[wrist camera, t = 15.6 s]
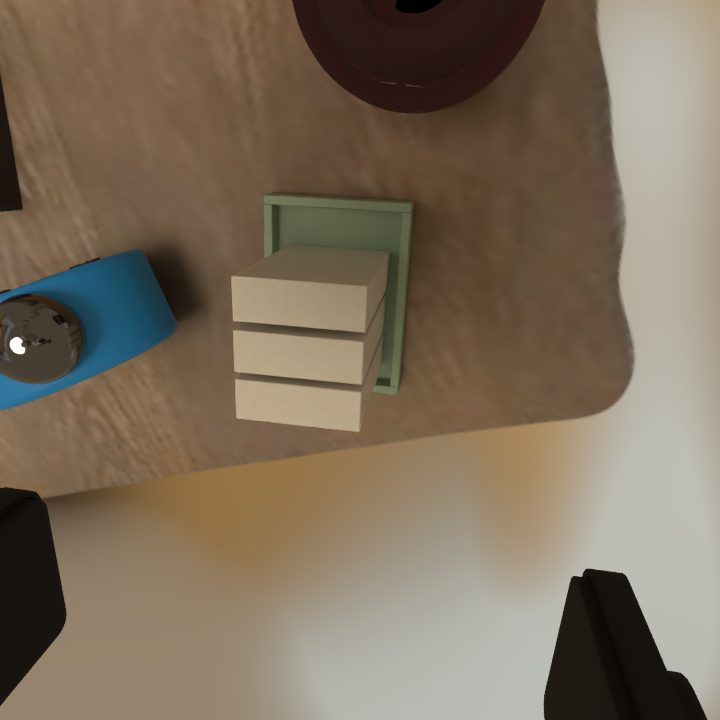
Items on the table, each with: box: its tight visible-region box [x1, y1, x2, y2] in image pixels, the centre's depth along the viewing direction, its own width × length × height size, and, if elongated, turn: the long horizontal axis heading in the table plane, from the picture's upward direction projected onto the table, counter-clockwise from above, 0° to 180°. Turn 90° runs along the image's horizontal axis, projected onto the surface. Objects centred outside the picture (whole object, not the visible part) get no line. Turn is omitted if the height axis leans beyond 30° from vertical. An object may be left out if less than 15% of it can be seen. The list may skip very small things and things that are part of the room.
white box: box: [231, 244, 390, 333], centre depth 33 cm, size 2×7×11 cm, turn 88°
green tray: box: [263, 193, 414, 395], centre depth 38 cm, size 13×10×2 cm
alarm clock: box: [0, 250, 177, 411], centre depth 35 cm, size 13×6×15 cm, turn 110°
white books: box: [233, 293, 387, 432], centre depth 34 cm, size 5×7×11 cm
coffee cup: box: [292, 0, 545, 113], centre depth 26 cm, size 10×10×15 cm
